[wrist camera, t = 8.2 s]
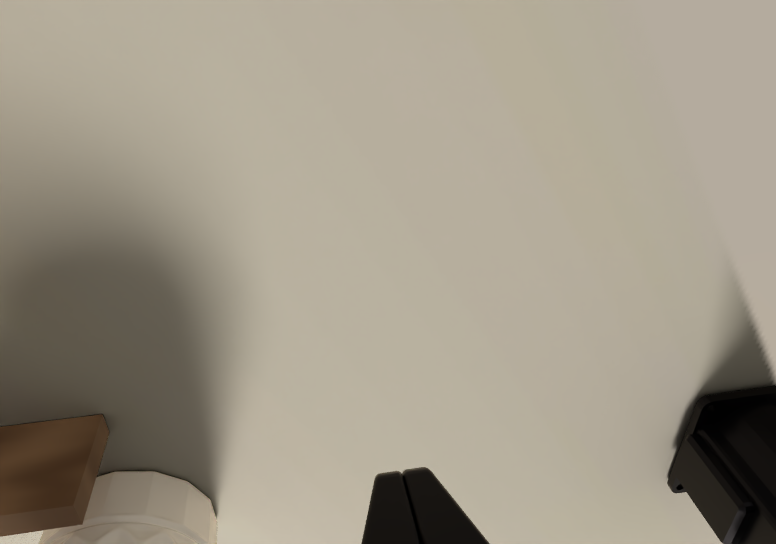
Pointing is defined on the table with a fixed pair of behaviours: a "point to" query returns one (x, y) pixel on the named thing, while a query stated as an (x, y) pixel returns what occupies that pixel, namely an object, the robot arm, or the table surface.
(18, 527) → the box
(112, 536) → the white cup
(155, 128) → the table surface
